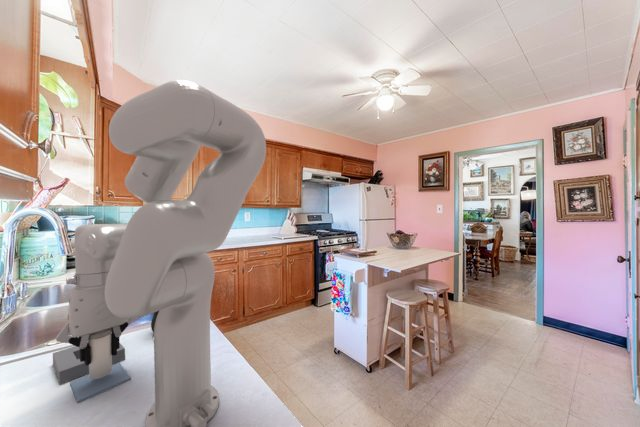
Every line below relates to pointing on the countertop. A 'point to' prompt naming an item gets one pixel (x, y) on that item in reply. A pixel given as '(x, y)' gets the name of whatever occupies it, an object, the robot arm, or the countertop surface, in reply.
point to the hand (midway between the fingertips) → (100, 357)
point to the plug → (100, 353)
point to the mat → (98, 383)
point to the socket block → (76, 363)
